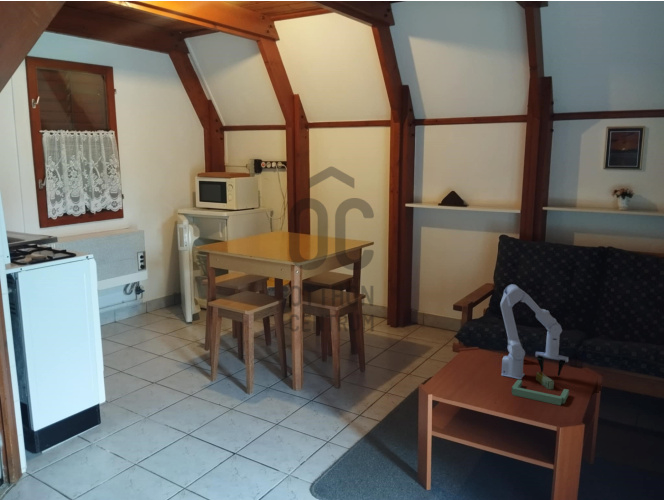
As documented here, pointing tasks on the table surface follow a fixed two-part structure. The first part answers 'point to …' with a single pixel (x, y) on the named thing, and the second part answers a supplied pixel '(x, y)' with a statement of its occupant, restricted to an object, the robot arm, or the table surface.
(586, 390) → the table surface
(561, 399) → the green u-shaped bracket
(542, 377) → the medication box
